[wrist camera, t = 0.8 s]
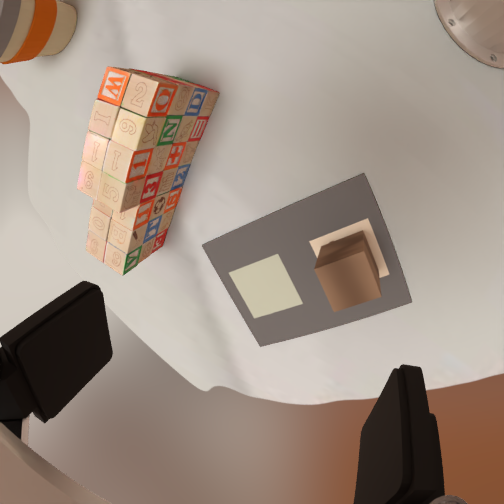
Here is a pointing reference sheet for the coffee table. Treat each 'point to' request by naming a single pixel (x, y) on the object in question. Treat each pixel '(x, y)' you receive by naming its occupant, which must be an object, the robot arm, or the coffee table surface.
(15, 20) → the reusable coffee cup
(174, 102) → the stack of blocks
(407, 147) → the coffee table surface
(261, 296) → the mat
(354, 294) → the walnut block
